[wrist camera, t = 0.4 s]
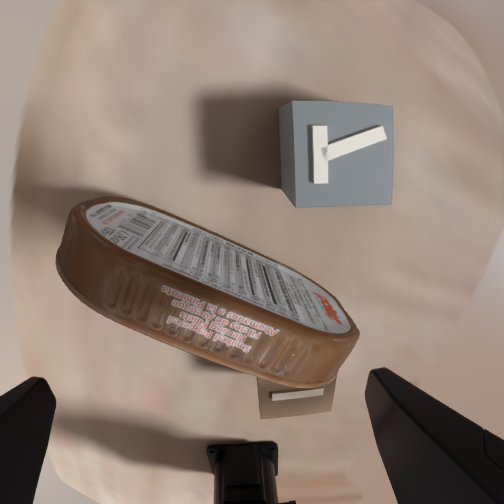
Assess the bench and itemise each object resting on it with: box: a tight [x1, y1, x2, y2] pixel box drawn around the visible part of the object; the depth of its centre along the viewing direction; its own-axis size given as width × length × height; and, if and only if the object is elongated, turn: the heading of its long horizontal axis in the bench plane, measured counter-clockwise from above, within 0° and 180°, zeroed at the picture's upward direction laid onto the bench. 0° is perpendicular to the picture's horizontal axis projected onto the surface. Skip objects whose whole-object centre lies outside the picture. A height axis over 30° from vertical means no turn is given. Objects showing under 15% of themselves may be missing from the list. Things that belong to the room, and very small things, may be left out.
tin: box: [56, 197, 360, 388], centre depth 15 cm, size 15×3×8 cm, turn 64°
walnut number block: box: [257, 375, 337, 419], centre depth 19 cm, size 4×4×5 cm
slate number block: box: [278, 101, 394, 208], centre depth 15 cm, size 4×4×5 cm
